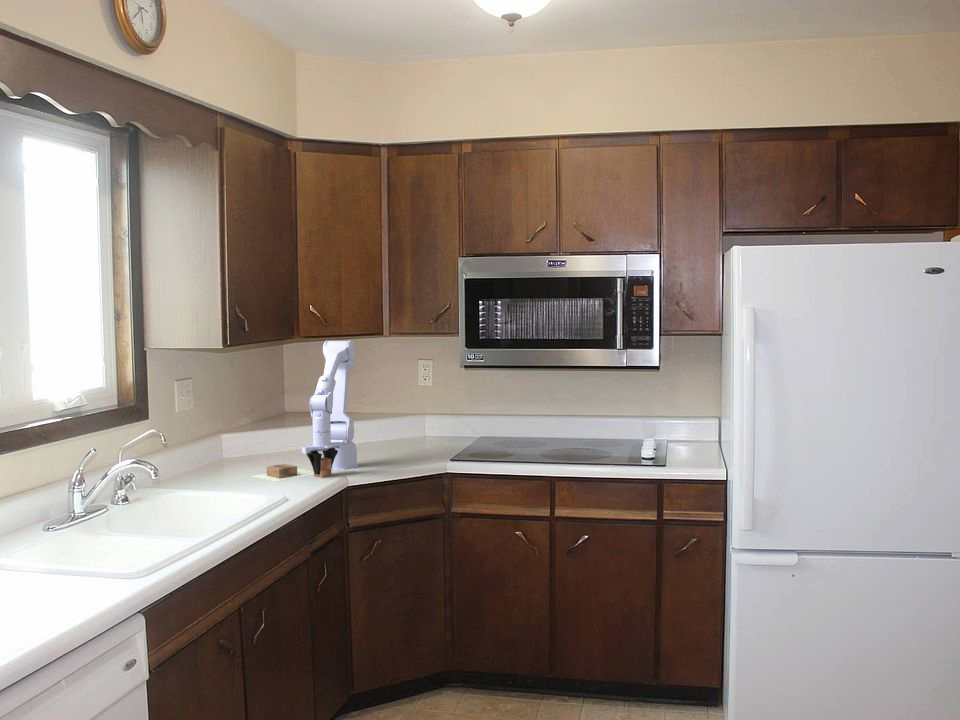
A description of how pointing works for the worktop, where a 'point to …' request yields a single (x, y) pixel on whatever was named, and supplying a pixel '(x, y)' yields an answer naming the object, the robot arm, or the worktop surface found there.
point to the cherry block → (324, 468)
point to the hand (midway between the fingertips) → (322, 472)
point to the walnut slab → (281, 471)
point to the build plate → (299, 474)
